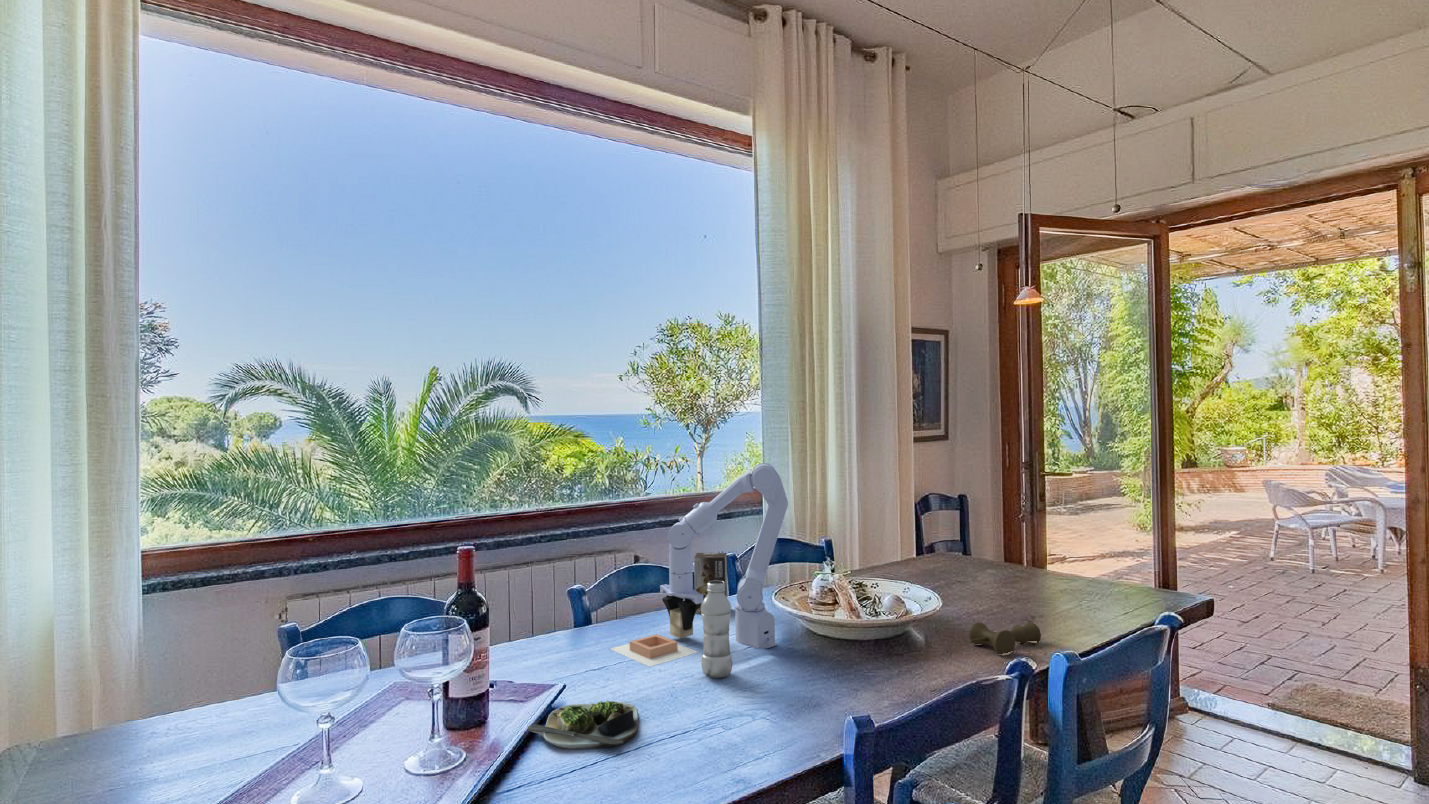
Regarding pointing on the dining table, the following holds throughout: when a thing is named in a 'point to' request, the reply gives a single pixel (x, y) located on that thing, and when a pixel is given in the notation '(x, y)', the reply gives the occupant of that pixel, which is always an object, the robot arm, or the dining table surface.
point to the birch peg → (678, 624)
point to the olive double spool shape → (1004, 636)
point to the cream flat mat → (656, 660)
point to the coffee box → (709, 572)
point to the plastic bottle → (716, 631)
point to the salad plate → (590, 725)
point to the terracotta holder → (663, 646)
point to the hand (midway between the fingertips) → (681, 627)
